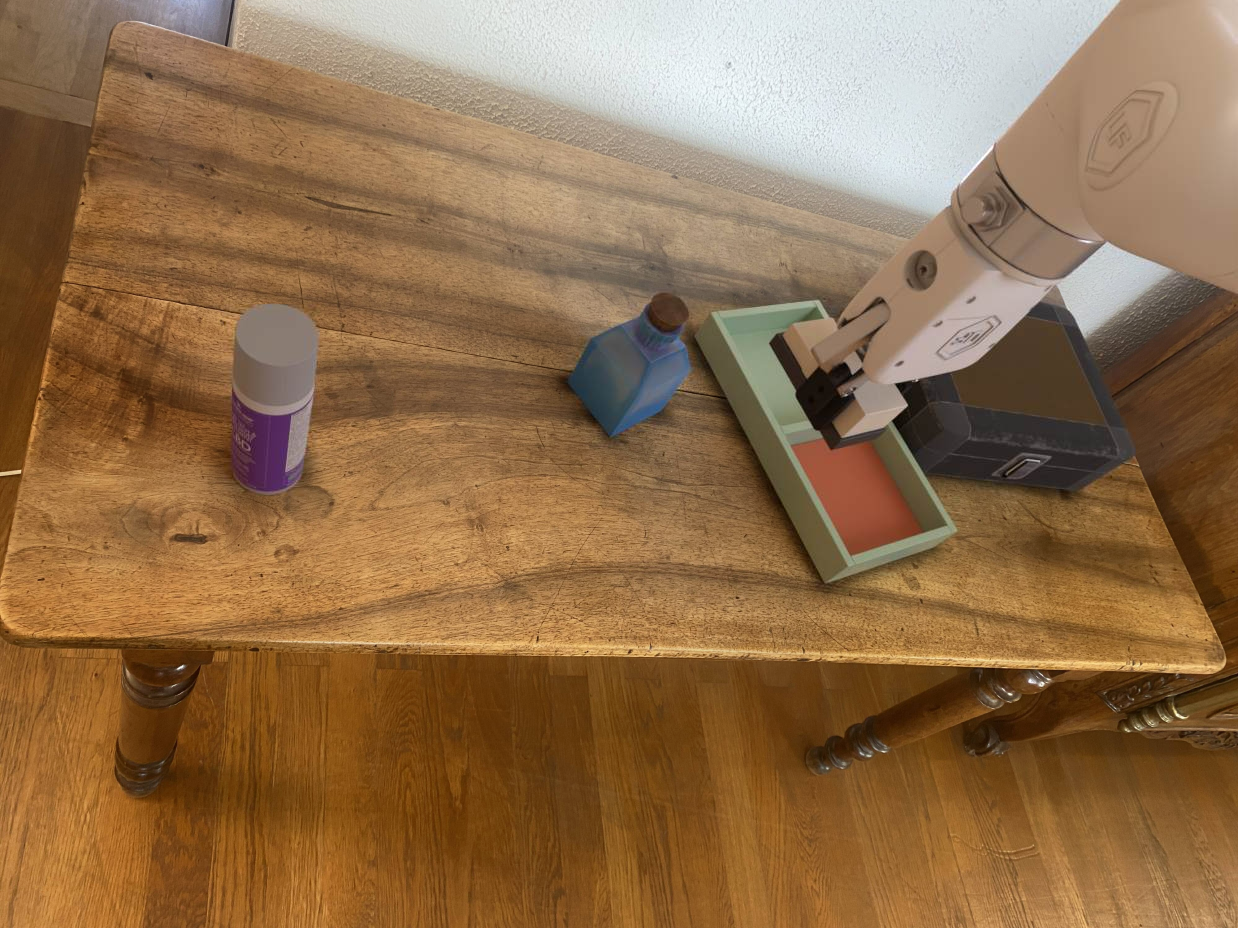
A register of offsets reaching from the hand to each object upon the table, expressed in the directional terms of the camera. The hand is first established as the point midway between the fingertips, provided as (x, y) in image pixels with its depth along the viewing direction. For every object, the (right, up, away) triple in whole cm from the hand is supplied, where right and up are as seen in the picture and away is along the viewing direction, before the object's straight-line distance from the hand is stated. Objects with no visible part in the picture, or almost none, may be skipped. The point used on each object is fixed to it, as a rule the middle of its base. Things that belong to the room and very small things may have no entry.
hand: (837, 404), depth 60 cm
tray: (+3, -2, +22) cm, 23 cm away
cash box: (+22, +2, +33) cm, 40 cm away
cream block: (-1, +1, +1) cm, 2 cm away
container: (-40, -4, +2) cm, 40 cm away
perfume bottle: (-15, +2, +16) cm, 23 cm away
